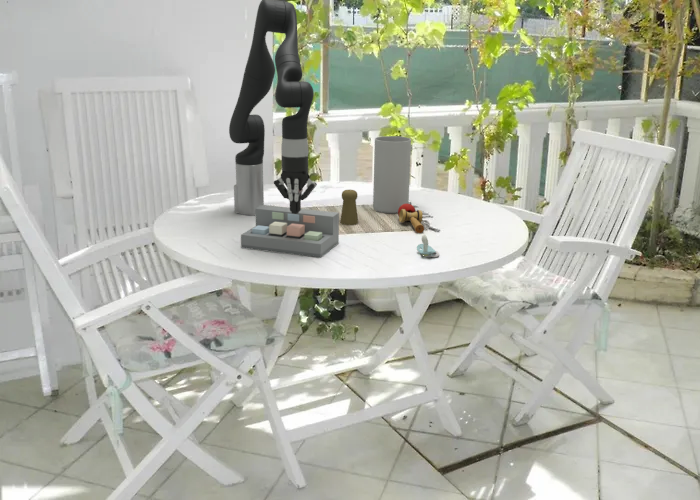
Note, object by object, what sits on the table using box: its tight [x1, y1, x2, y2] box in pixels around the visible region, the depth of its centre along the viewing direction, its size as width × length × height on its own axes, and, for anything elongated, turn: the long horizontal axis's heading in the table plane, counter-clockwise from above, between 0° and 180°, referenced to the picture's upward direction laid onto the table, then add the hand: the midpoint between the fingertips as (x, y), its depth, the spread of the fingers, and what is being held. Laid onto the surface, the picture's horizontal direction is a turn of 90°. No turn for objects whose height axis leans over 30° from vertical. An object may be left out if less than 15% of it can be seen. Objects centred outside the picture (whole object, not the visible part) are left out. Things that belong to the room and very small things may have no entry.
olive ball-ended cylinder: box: [339, 189, 359, 226], centre depth 248 cm, size 6×6×11 cm
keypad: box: [240, 204, 340, 259], centre depth 223 cm, size 25×15×10 cm, turn 71°
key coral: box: [287, 224, 305, 239], centre depth 220 cm, size 4×4×4 cm
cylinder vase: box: [372, 135, 412, 214], centre depth 263 cm, size 12×12×25 cm
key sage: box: [304, 231, 322, 241], centre depth 219 cm, size 4×4×4 cm
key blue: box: [251, 225, 269, 235], centre depth 224 cm, size 4×4×4 cm
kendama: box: [397, 203, 425, 234], centre depth 247 cm, size 8×6×18 cm
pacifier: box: [416, 234, 440, 258], centre depth 217 cm, size 7×6×6 cm
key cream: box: [269, 222, 287, 237], centre depth 222 cm, size 4×4×4 cm
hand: (295, 213), depth 218 cm, fingers closed
